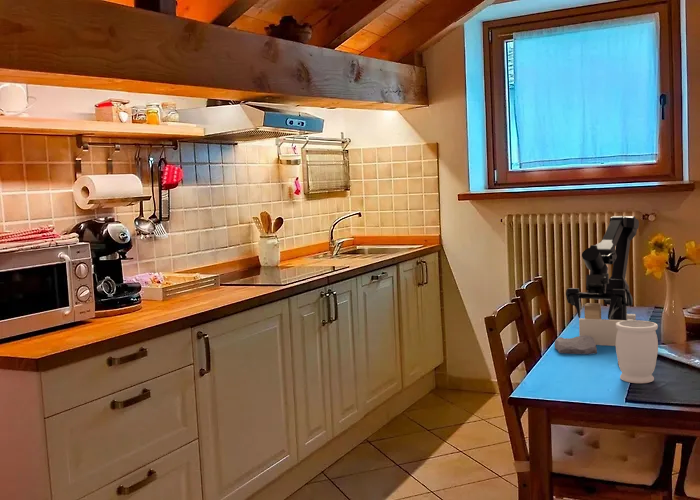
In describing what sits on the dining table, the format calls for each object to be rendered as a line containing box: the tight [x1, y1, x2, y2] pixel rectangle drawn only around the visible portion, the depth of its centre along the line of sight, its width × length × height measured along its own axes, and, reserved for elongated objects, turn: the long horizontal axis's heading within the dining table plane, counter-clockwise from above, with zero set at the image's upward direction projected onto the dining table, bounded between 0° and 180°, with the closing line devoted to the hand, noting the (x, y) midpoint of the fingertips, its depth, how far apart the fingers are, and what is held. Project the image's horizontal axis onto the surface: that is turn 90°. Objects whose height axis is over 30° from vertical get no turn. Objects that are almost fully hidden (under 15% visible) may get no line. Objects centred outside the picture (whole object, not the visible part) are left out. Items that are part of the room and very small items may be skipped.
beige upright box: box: [578, 317, 626, 347], centre depth 234 cm, size 3×14×8 cm, turn 64°
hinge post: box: [627, 313, 637, 320], centre depth 230 cm, size 2×2×10 cm
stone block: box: [554, 335, 598, 355], centre depth 228 cm, size 12×5×10 cm
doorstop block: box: [584, 302, 602, 319], centre depth 239 cm, size 4×4×12 cm
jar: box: [615, 319, 659, 384], centre depth 194 cm, size 11×10×15 cm
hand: (593, 317), depth 240 cm, fingers open, 9 cm apart
